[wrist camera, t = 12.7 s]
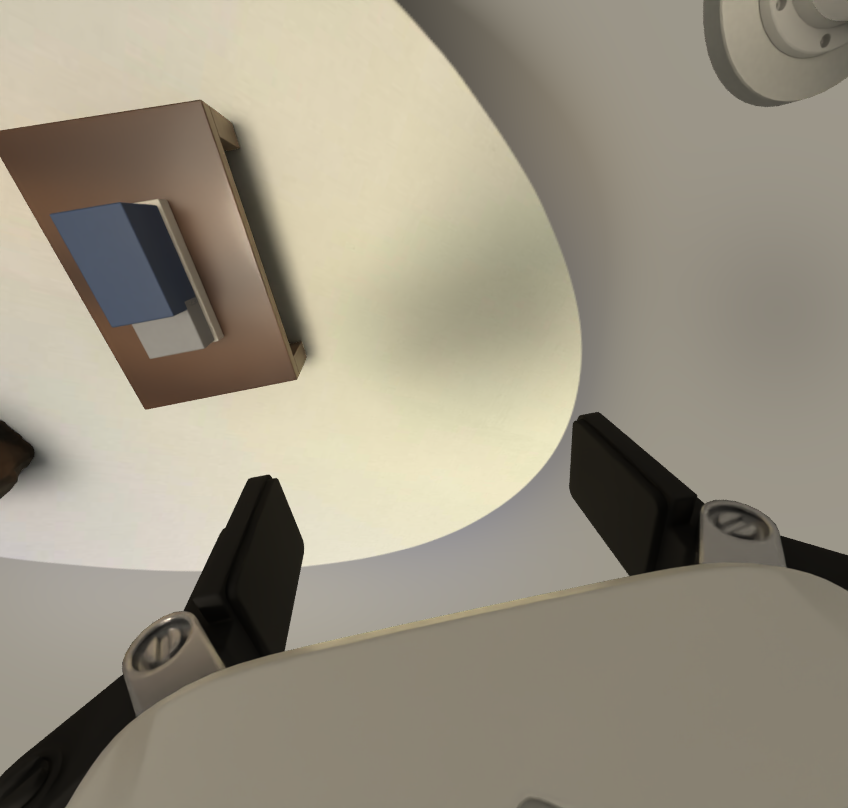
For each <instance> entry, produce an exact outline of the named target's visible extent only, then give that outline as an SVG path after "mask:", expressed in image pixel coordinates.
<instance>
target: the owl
mask: <svg viewBox="0 0 848 808" xmlns="http://www.w3.org/2000/svg"><path fill="white" fill-rule="evenodd" d="M33 457H34V449H33V447H32V446H31V445H30V444H29V443H28V442H26V441H25V440H23V439H22V437H21V436H20V435H19V434H18V433H16V432H15V431H14V430H12V429H11V428H10V427H8V426H7V425H6V423H5V422H3V421H0V499H1V498H2V497H3V496H4V495H5V494H6V493H7V492H9V491H10V490H11V488H12V487H13V486H14V485H15V484H16V483H17V481H18V475H19V474H20V472H21V471H22V469H24V468H26V467H27V466H28V465H29V464H30V462H31V460H32V459H33Z"/></svg>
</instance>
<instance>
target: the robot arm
mask: <svg viewBox="0 0 848 808" xmlns="http://www.w3.org/2000/svg"><path fill="white" fill-rule="evenodd" d="M759 4H760V14H761V17H762V21H763V25H764V28H765V30H766V32H767V34H768V36H769V38H770V40H771V42H772V43H773V44H774V45H775V46H776V47H777V48H778V49H779V50H780V51H782V52H784V53H785V54H787V55H789V56H793V57H798V58H808V57H815V56H818V55H821V54H824V53H827V52H830V51H832V50H835V49H837V48H839V47H841V46H843V45H845V44H847V43H848V0H759ZM569 488H570V493H571V495H572V497H573V499H574V500H575V501H576V503H577V504H578V506H579V507H580V509H581V510H582V511H583V513H584V514H585V515H586V517H587V518H588V520H589V521H590V522H591V524H592V525H593V526H594V528H595V529H596V530H597V532H598V533H599V535H600V536H601V537H602V538H603V540H604V542H605V543H606V544H607V546H608V547H609V548H610V550H611V551H612V553H613V554H614V555H615V557H616V558H617V559H618V561H619V562H620V564H621V565H622V566H623V568H624V569H625V570H626V572H627V573H628V575H629V576H628V577H623V578H618V579H613V580H608V581H603V582H599V583H594V584H589V585H584V586H579V587H575V588H570V589H565V590H560V591H556V592H551V593H546V594H541V595H537V596H532V597H527V598H523V599H518V600H513V601H509V602H504V603H500V604H495V605H490V606H485V607H480V608H476V609H471V610H467V611H462V612H457V613H453V614H448V615H443V616H439V617H434V618H430V619H425V620H421V621H416V622H411V623H407V624H402V625H398V626H393V627H389V628H385V629H381V630H376V631H371V632H366V633H362V634H357V635H353V636H348V637H344V638H339V639H335V640H330V641H326V642H322V643H318V644H314V645H309V646H305V647H301V648H297V649H293V650H288V651H285V646H286V640H287V636H288V631H289V626H290V621H291V615H292V610H293V605H294V600H295V595H296V590H297V585H298V580H299V575H300V570H301V565H302V560H303V555H304V543H303V539H302V537H301V534H300V532H299V529H298V527H297V524H296V522H295V519H294V517H293V514H292V512H291V509H290V507H289V505H288V502H287V500H286V497H285V495H284V492H283V490H282V487H281V485H280V482H279V480H278V479H277V478H273V479H272V477H271V476H270V475H264V476H259V477H253V478H250V479H248V481H247V483H246V485H245V487H244V489H243V491H242V493H241V495H240V498H239V500H238V502H237V504H236V506H235V508H234V510H233V513H232V515H231V517H230V519H229V521H228V523H227V525H226V528H224V529H223V530H222V532H221V533H220V535H219V537H218V539H217V541H216V543H215V546H214V548H213V550H212V552H211V554H210V556H209V558H208V560H207V562H206V565H205V567H204V569H203V571H202V574H201V575H200V577H199V580H198V581H197V584H196V586H195V588H194V590H193V592H192V594H191V596H190V598H189V600H188V603H187V605H186V607H185V609H184V611H179V612H173V613H171V614H168V615H166V616H163V617H162V618H160V619H158V620H157V621H155V622H153V623H152V624H151V625H149V626H148V627H147V628H146V629H144V630H143V631H142V632H141V633H140V634H139V636H138V637H137V638H136V639H135V640H134V641H133V642H132V644H131V645H130V647H129V649H128V650H127V652H126V654H125V657H124V659H123V662H122V671H123V675H122V676H120V677H119V678H118V679H117V680H115V681H114V682H113V683H112V684H110V685H109V686H108V687H107V688H106V689H104V690H103V691H102V692H101V693H99V694H98V695H97V696H96V697H94V698H93V699H92V700H91V701H90V702H88V703H87V704H86V705H85V706H83V707H82V708H81V709H80V710H78V711H77V712H76V713H75V714H74V715H72V716H71V717H70V718H69V719H67V720H66V721H65V722H64V723H62V724H61V725H60V726H59V727H57V728H56V729H55V730H54V731H53V732H51V733H50V734H49V735H48V736H46V737H45V738H44V739H43V740H42V741H40V742H39V743H38V744H37V745H35V746H34V747H33V748H32V749H30V750H29V751H28V752H27V753H25V754H24V755H23V756H22V757H21V758H20V759H18V760H17V761H16V762H15V763H14V764H13V765H12V766H11V767H10V768H8V770H6V771H5V772H4V773H3V774H2V776H1V777H0V808H848V555H845V554H841V553H838V552H834V551H831V550H827V549H824V548H820V547H818V546H814V545H811V544H807V543H804V542H800V541H797V540H793V539H790V538H787V537H783V536H780V534H779V530H778V528H777V526H776V524H775V523H774V522H773V521H772V520H771V519H770V518H769V517H768V516H767V515H765V514H764V513H762V512H761V511H759V510H757V509H755V508H753V507H751V506H749V505H746V504H742V503H739V502H736V501H729V500H713V501H710V502H707V503H706V504H704V503H703V502H702V501H701V500H700V499H699V498H697V494H695V493H694V492H693V491H692V490H691V489H689V488H688V487H687V486H686V485H685V484H684V483H682V482H681V481H680V480H678V478H676V477H675V476H674V475H673V474H672V473H670V472H669V471H668V470H667V469H666V468H665V467H663V466H662V465H661V464H660V463H659V462H658V461H656V460H655V459H654V458H653V457H652V456H650V455H649V454H648V453H647V452H646V451H644V450H643V449H642V448H641V447H640V446H639V445H637V444H636V443H635V442H634V441H633V440H631V439H630V438H629V437H628V436H627V435H626V434H624V433H623V432H622V431H621V430H620V429H618V428H617V427H616V426H615V425H614V424H613V423H611V422H610V421H609V420H608V419H607V418H605V417H604V416H603V415H602V414H601V413H599V412H595V413H590V414H585V415H580V416H579V417H578V419H577V421H574V423H573V431H572V448H571V465H570V483H569Z"/></svg>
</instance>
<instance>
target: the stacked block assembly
mask: <svg viewBox="0 0 848 808" xmlns="http://www.w3.org/2000/svg"><path fill="white" fill-rule="evenodd" d="M50 217H51V219H52V221H53V222H54V224H55V226H56V228H57V230H58V231H59V233H60V235H61V237H62V239H63V240H64V242H65V244H66V246H67V248H68V249H69V251H70V253H71V255H72V257H73V258H74V260H75V262H76V264H77V266H78V267H79V269H80V271H81V273H82V275H83V276H84V278H85V280H86V282H87V284H88V285H89V287H90V289H91V291H92V293H93V294H94V296H95V298H96V300H97V302H98V303H99V305H100V307H101V309H102V311H103V312H104V314H105V316H106V318H107V320H108V321H109V323H110V325H111V327H113V328H114V327H120V326H125V325H130V324H132V326H133V328H134V330H135V332H136V333H137V335H138V337H139V339H140V341H141V343H142V345H143V347H144V349H145V350H146V352H147V354H148V356H149V358H150V359H153V358H158V357H164V356H169V355H174V354H179V353H184V352H190V351H195V350H200V349H204V348H206V347H207V346H208V345H209V344H211V343H212V342H216V341H219V340H220V339H221V338H223V337H224V335H223V333H222V330H221V328H220V325H219V323H218V321H217V318H216V316H215V313H214V311H213V309H212V306H211V304H210V302H209V299H208V297H207V294H206V292H205V290H204V287H203V285H202V282H201V280H200V278H199V275H198V273H197V270H196V268H195V266H194V263H193V261H192V259H191V256H190V254H189V251H188V249H187V247H186V244H185V242H184V239H183V237H182V235H181V232H180V230H179V227H178V225H177V223H176V220H175V218H174V215H173V213H172V211H171V208H170V206H169V204H168V201H167V200H162V199H154V200H148V201H142V202H137V203H124V202H117V203H111V204H105V205H100V206H94V207H88V208H82V209H76V210H70V211H64V212H58V213H52V214H50Z"/></svg>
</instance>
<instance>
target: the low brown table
mask: <svg viewBox="0 0 848 808" xmlns="http://www.w3.org/2000/svg"><path fill="white" fill-rule="evenodd" d="M235 149H240V147H239V143H238V140H237V137H236V134H235V131H234V128H233V125H232V122H230V121H229V120H228V119H226V118H225V117H224V116H222V115H221V114H220V113H218V112H217V111H216V110H214V109H213V108H211V107H210V106H208V105H207V104H206V103H205V102H203V101H202V100H195V101H189V102H182V103H176V104H169V105H163V106H156V107H150V108H143V109H137V110H130V111H124V112H117V113H111V114H104V115H98V116H91V117H85V118H79V119H72V120H66V121H59V122H53V123H46V124H40V125H33V126H27V127H20V128H14V129H7V130H1V131H0V157H1V159H2V161H3V162H4V164H5V166H6V168H7V169H8V171H9V173H10V175H11V176H12V178H13V180H14V182H15V183H16V185H17V187H18V189H19V190H20V192H21V194H22V196H23V197H24V199H25V201H26V202H27V204H28V206H29V208H30V209H31V211H32V213H33V215H34V216H35V218H36V220H37V222H38V223H39V225H40V227H41V229H42V230H43V232H44V234H45V236H46V237H47V239H48V241H49V243H50V244H51V246H52V248H53V250H54V251H55V253H56V255H57V257H58V258H59V260H60V262H61V264H62V265H63V267H64V269H65V271H66V272H67V274H68V276H69V278H70V279H71V281H72V283H73V285H74V286H75V288H76V290H77V292H78V293H79V295H80V297H81V299H82V300H83V302H84V304H85V306H86V307H87V309H88V311H89V313H90V314H91V316H92V318H93V319H94V321H95V323H96V325H97V326H98V328H99V330H100V332H101V333H102V335H103V337H104V339H105V340H106V342H107V344H108V346H109V347H110V349H111V351H112V353H113V354H114V356H115V358H116V360H117V361H118V363H119V365H120V367H121V368H122V370H123V372H124V374H125V375H126V377H127V379H128V381H129V382H130V384H131V386H132V388H133V389H134V391H135V393H136V395H137V396H138V398H139V400H140V402H141V403H142V405H143V407H144V409H151V408H156V407H161V406H167V405H172V404H177V403H182V402H187V401H192V400H197V399H202V398H207V397H212V396H217V395H222V394H227V393H232V392H237V391H242V390H247V389H252V388H257V387H262V386H267V385H272V384H277V383H282V382H287V381H292V380H297V378H298V376H299V374H300V372H301V369H302V367H303V365H304V363H305V360H306V358H307V356H306V353H305V350H304V346H303V343H302V341H300V342H295V343H290V344H289V342H288V339H287V336H286V333H285V330H284V327H283V324H282V321H281V318H280V315H279V313H278V310H277V307H276V304H275V301H274V298H273V295H272V292H271V289H270V286H269V283H268V280H267V277H266V274H265V271H264V268H263V265H262V262H261V259H260V256H259V253H258V250H257V247H256V244H255V241H254V238H253V236H252V233H251V230H250V227H249V224H248V221H247V218H246V215H245V212H244V209H243V206H242V203H241V200H240V197H239V194H238V191H237V188H236V185H235V182H234V179H233V176H232V173H231V170H230V167H229V164H228V161H227V158H226V156H225V153H224V151H229V150H235ZM154 199H162V200H167V201H168V204H169V206H170V208H171V211H172V213H173V215H174V218H175V220H176V223H177V225H178V227H179V230H180V232H181V235H182V237H183V239H184V242H185V244H186V247H187V249H188V251H189V254H190V256H191V259H192V261H193V263H194V266H195V268H196V270H197V273H198V275H199V278H200V280H201V282H202V285H203V287H204V290H205V292H206V294H207V297H208V299H209V302H210V304H211V306H212V309H213V311H214V313H215V316H216V318H217V321H218V323H219V325H220V328H221V330H222V333H223V335H224V337H223V338H221V339H220V340H219V341H216V342H212V343H211V344H209V345H208V346H207V347H206V348H204V349H200V350H195V351H190V352H184V353H179V354H174V355H169V356H164V357H158V358H153V359H150V358H149V356H148V354H147V352H146V350H145V349H144V347H143V345H142V343H141V341H140V339H139V337H138V335H137V333H136V332H135V330H134V328H133V326H132V324H130V325H125V326H120V327H114V328H113V327H111V325H110V323H109V321H108V320H107V318H106V316H105V314H104V312H103V311H102V309H101V307H100V305H99V303H98V302H97V300H96V298H95V296H94V294H93V293H92V291H91V289H90V287H89V285H88V284H87V282H86V280H85V278H84V276H83V275H82V273H81V271H80V269H79V267H78V266H77V264H76V262H75V260H74V258H73V257H72V255H71V253H70V251H69V249H68V248H67V246H66V244H65V242H64V240H63V239H62V237H61V235H60V233H59V231H58V230H57V228H56V226H55V224H54V222H53V221H52V219H51V217H50V214H52V213H58V212H64V211H70V210H76V209H82V208H88V207H94V206H100V205H105V204H111V203H117V202H124V203H137V202H142V201H148V200H154Z"/></svg>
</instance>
